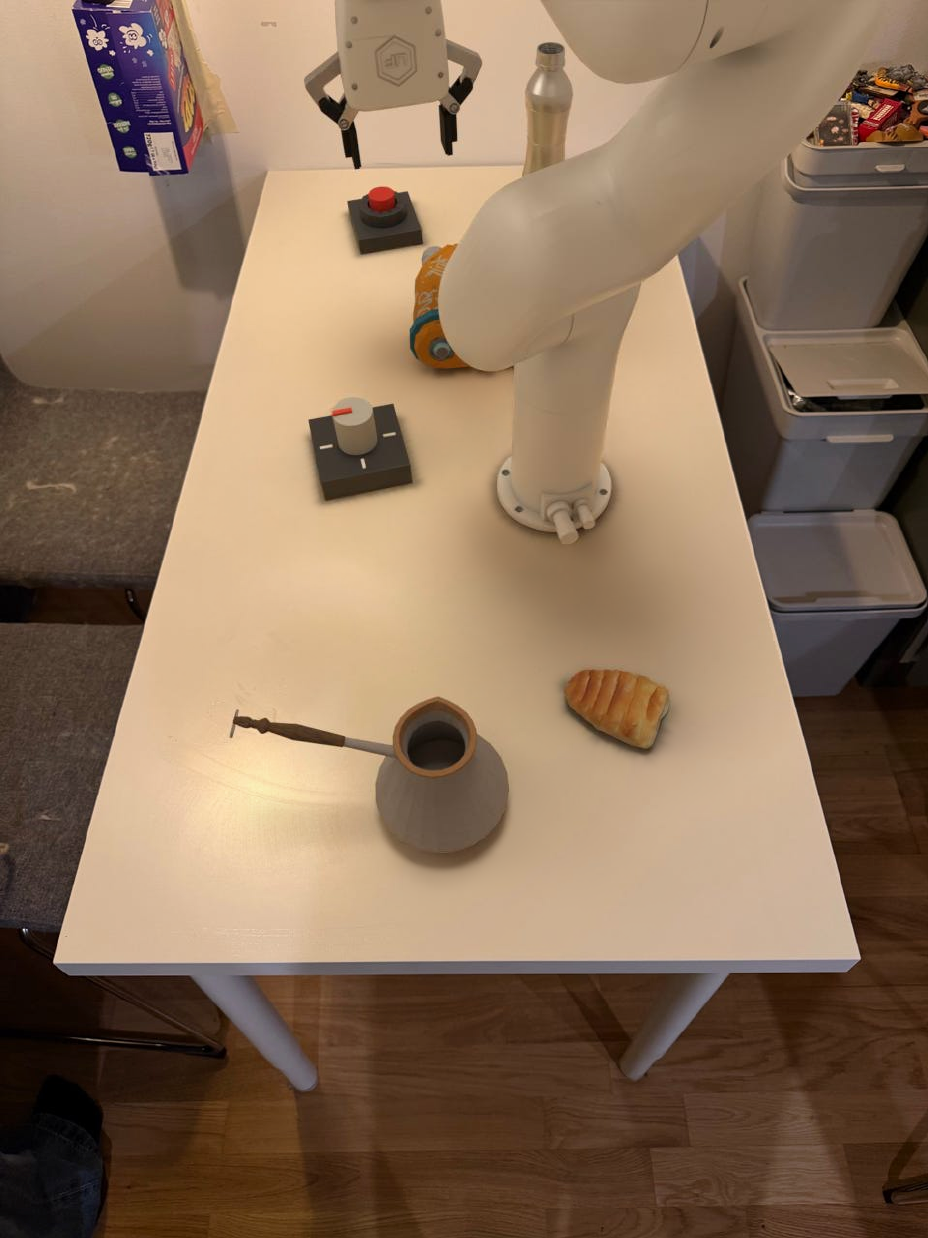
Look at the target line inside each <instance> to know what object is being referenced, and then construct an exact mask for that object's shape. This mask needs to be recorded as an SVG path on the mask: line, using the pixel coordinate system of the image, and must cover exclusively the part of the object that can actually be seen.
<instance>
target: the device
mask: <svg viewBox="0 0 928 1238" xmlns="http://www.w3.org/2000/svg"><path fill="white" fill-rule="evenodd" d="M458 244H459V242H458V243H453V244H449V243H447V244H446V245H444V246H443V247H440V246H438V245H433V246H428V247H427V248H426V249H424V251H423V252H422V256H421V267H420V269H419V272H418V273H417V275H416V278H415V279H414V307H413V312H412V325H411V327H409V349H410V351H411V353H412V354H413V356H414V358H415V359H416V360H417V361H419V362H420V363H423V364H424V365H426V366H427V367H430V368H432V369H454V368H467V367H468V368H469V367H471V366H470V365H468V364H467V363H465V362H464V361H463V360H462V359H460V358H459V357H458V356H457V354H456V353H455V352H454V351H453V350H452V348H451V347H450V345H449V343H448V342H447V340H446V337H445V335H444V332H443V330H442V326H441V323H440V318H439V310H438V294H439V286H440V281H441V278H442V274H443V272H444V269H445V267H446V265H447V263H448V261H449V259H450V257H451V256H452V254H453V252H454V251H455V249H456V247H457V245H458Z"/></svg>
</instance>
